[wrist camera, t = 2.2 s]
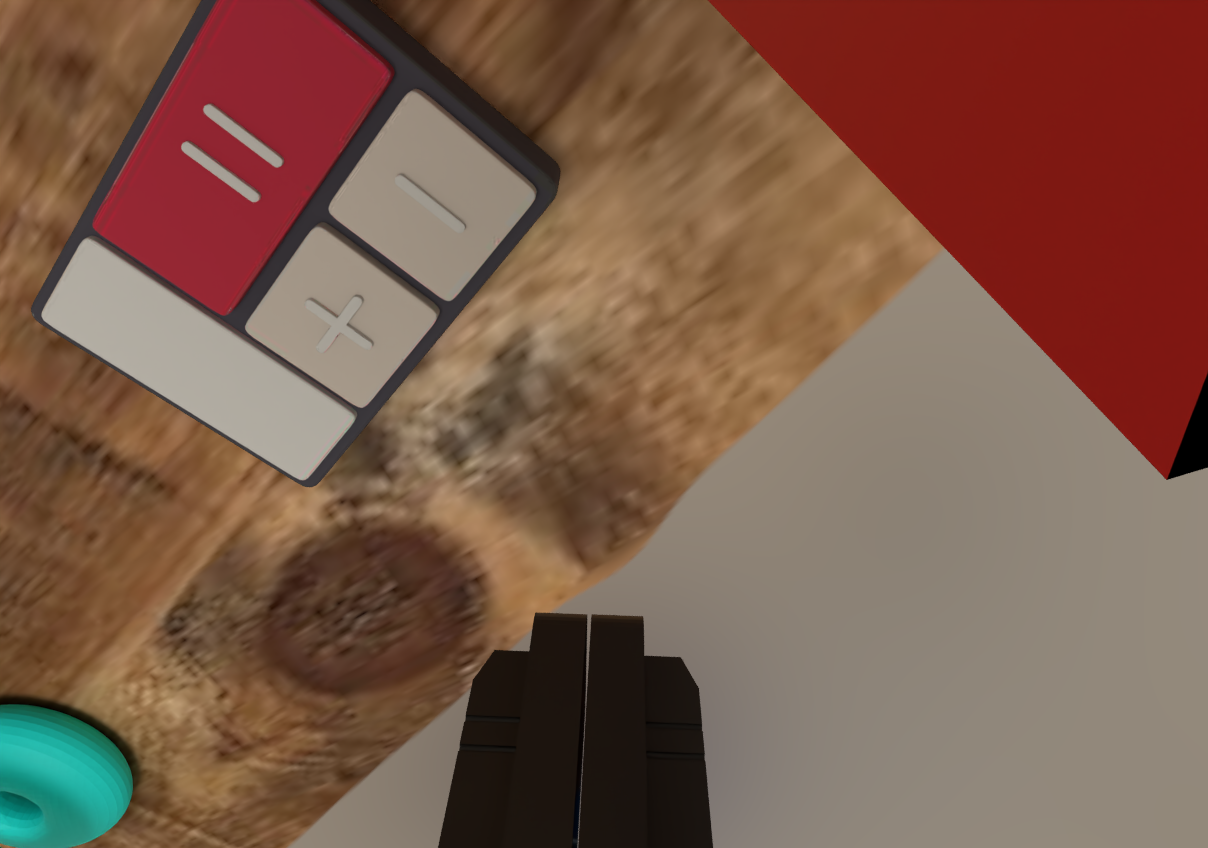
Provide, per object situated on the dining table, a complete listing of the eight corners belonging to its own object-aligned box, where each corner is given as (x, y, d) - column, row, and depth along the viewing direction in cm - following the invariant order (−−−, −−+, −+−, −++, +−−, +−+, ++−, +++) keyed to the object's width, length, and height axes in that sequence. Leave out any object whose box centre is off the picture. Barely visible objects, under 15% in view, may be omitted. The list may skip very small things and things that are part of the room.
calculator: (562, 194, 25) (304, 505, 30) (567, 164, 28) (336, 445, 34) (234, -86, 21) (9, 324, 27) (289, -78, 25) (81, 280, 30)
